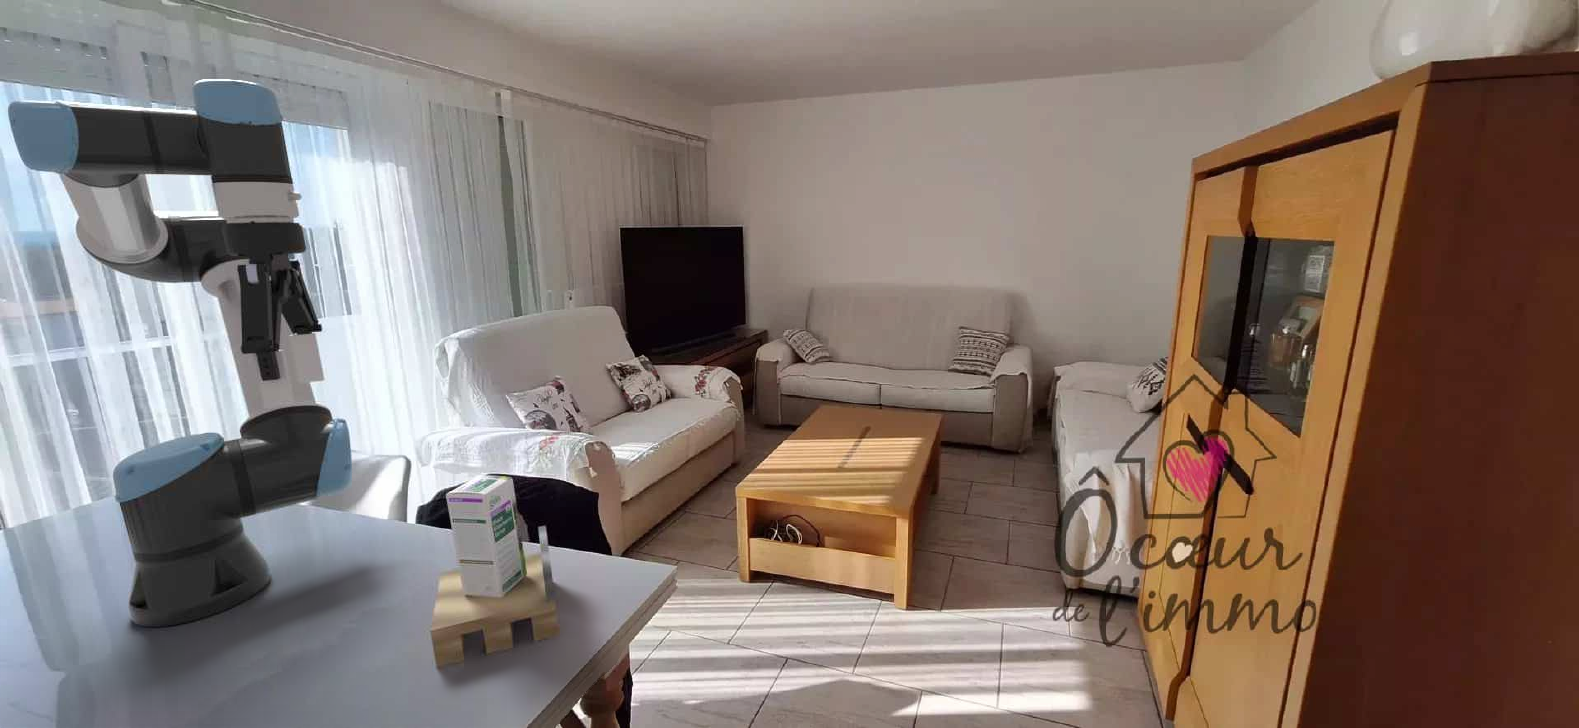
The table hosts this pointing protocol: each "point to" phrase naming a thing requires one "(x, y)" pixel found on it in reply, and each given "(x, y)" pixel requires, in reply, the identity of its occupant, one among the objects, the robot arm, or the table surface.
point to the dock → (494, 610)
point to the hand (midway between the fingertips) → (297, 393)
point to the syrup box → (487, 536)
